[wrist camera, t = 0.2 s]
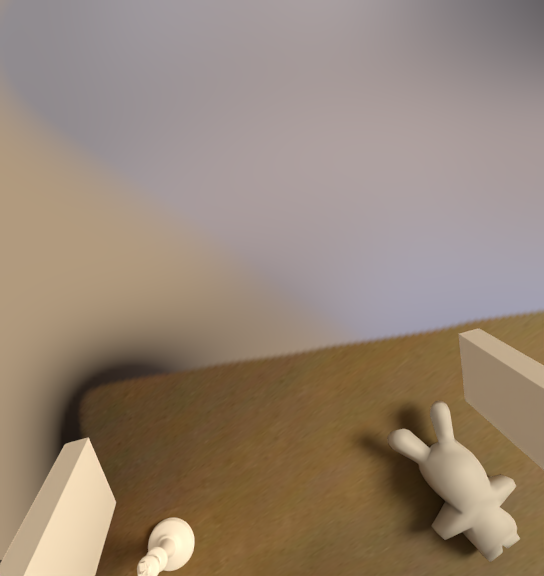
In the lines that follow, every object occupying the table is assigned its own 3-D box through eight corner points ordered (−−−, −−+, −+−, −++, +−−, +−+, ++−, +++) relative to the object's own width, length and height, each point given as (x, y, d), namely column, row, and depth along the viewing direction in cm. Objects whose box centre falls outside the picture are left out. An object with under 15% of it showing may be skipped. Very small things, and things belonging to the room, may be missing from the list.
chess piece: (153, 575, 43) (116, 619, 34) (145, 524, 45) (108, 552, 35) (198, 562, 43) (174, 601, 34) (189, 511, 45) (163, 536, 35)
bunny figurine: (477, 587, 39) (386, 445, 41) (452, 563, 44) (372, 438, 46) (552, 528, 40) (460, 394, 42) (519, 511, 45) (438, 392, 47)
